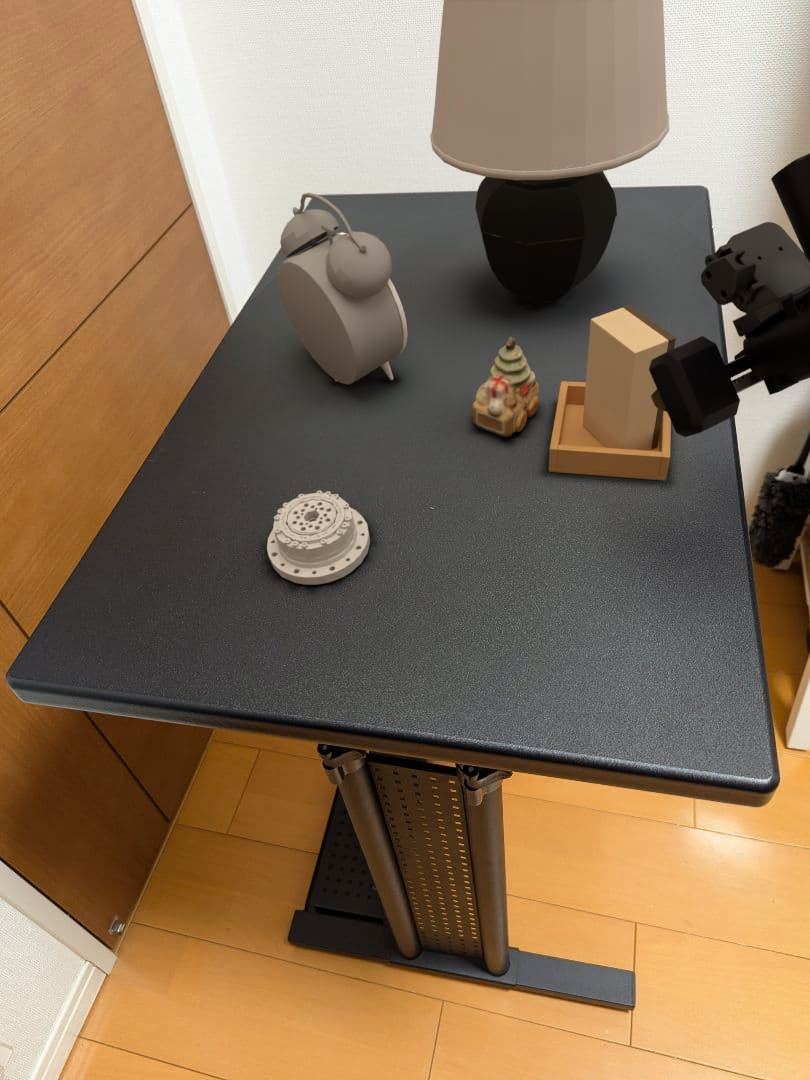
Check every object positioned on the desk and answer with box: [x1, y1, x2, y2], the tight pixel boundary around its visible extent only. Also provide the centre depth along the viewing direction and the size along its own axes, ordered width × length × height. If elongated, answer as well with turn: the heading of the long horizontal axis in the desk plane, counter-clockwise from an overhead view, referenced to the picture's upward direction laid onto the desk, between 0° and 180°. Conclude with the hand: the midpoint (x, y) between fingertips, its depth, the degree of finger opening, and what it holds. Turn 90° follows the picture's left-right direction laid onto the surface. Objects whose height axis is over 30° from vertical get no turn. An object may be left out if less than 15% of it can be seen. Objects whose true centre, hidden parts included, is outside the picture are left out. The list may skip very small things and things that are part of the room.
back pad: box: [583, 304, 677, 451], centre depth 77 cm, size 4×7×13 cm, turn 25°
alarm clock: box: [277, 192, 409, 385], centre depth 88 cm, size 16×9×22 cm, turn 37°
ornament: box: [471, 336, 540, 438], centre depth 83 cm, size 8×6×10 cm
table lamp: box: [429, 0, 670, 304], centre depth 89 cm, size 27×27×40 cm
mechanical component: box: [266, 490, 371, 586], centre depth 74 cm, size 10×4×10 cm
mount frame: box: [548, 380, 672, 482], centre depth 81 cm, size 12×12×3 cm
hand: (696, 380), depth 65 cm, fingers open, 9 cm apart
